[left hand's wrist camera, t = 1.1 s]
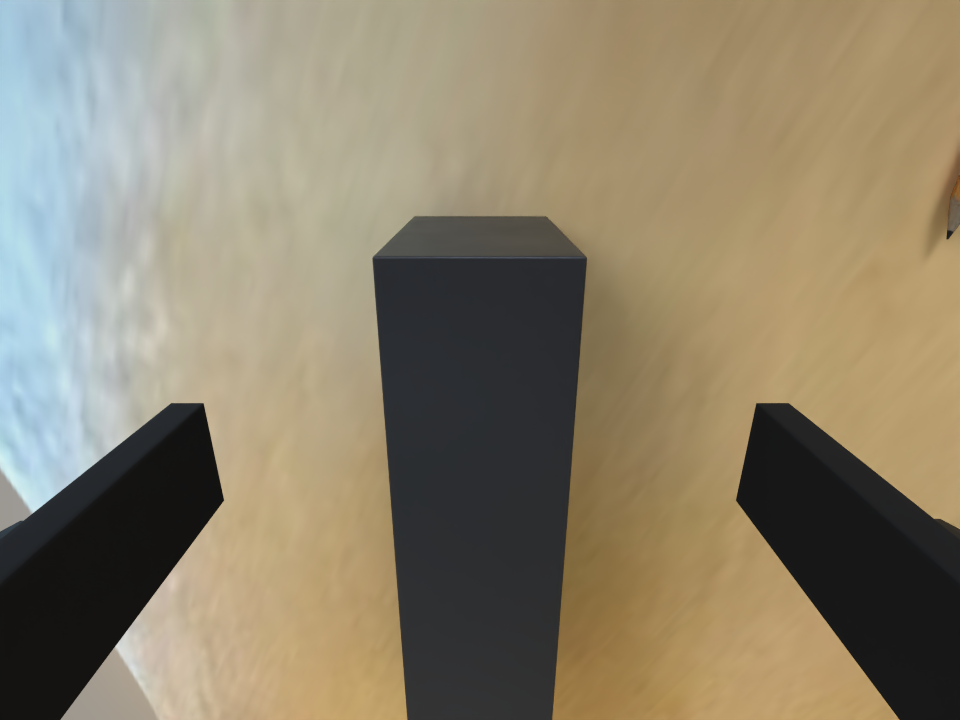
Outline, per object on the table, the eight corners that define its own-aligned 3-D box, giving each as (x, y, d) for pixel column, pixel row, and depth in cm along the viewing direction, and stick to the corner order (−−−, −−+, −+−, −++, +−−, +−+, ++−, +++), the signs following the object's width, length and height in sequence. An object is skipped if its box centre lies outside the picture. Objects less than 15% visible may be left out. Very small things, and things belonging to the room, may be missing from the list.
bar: (413, 216, 23) (371, 256, 14) (547, 216, 23) (587, 256, 14) (434, 681, 34) (418, 867, 25) (525, 681, 34) (541, 868, 25)
